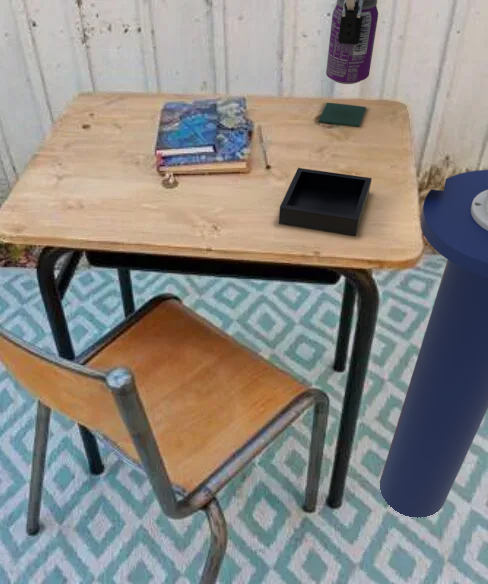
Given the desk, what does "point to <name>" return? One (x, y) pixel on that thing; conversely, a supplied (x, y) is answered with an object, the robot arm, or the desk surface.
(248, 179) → the desk surface
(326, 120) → the rubber mat
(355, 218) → the black square tray
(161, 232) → the desk surface
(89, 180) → the desk surface
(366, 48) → the beverage can
